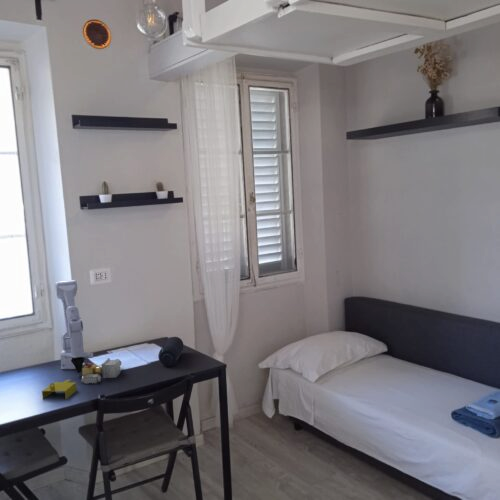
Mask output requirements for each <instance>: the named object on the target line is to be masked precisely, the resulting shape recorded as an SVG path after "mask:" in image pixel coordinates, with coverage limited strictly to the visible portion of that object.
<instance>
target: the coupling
mask: <svg viewBox="0 0 500 500" xmlns="http://www.w3.org/2000/svg"><path fill="white" fill-rule="evenodd" d="M121 366H122V361H121V359H117V358H116V359H111V358H106V360H104V362H102V363H101V367H102V374H101V377H102V379H103V378H104V379H111V378H112V379H113V378H117V377H118V376H119V375H120V374H121V373H122V370H121Z"/></svg>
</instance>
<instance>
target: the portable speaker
mask: <svg viewBox="0 0 500 500" xmlns="http://www.w3.org/2000/svg"><path fill="white" fill-rule="evenodd" d="M166 339H167V340H166V341H165V342H164V344H163V345H162V347H161V348H160V350H159V352H158V360H159V362H160V364H161V365H163V366H165V367H171V366H174V365H175V364H176V363H177V362H178V360H179V358H180V356H181V355H182V352H183V350H184V342H183V340H182V339H181V338H180V337H178V336H171V337H169V338H166Z"/></svg>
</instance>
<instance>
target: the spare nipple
mask: <svg viewBox="0 0 500 500" xmlns="http://www.w3.org/2000/svg"><path fill="white" fill-rule="evenodd" d="M101 381H102V374H86V375H85V376H83V375H82V376H81V383H83V384H84V385H86V384H87V385H90V384H89V383H92V384H93V383H94V384H98V383H101Z"/></svg>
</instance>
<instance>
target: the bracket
mask: <svg viewBox="0 0 500 500" xmlns="http://www.w3.org/2000/svg"><path fill="white" fill-rule="evenodd" d="M71 380H72V379H71V378H68V379H67V378H66V380H64V381H61V382H60V381H56V382H55V381H54V382H51V383H50V384H49V385H48V386H47V387H46V388H45V389H43V390H42V391H41V395H42V400H44V399H45V398H46V397H47V396H49V395H51V394H52V393H53V392H64V394H65V395H64V396H65V397H64V398H65V400H67V399H69V397H71V396H72V395H73V394H74V393H76V391H77V390H78V389H77V382H75V381H74V382H72V381H71ZM70 381H71V382H70Z"/></svg>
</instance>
